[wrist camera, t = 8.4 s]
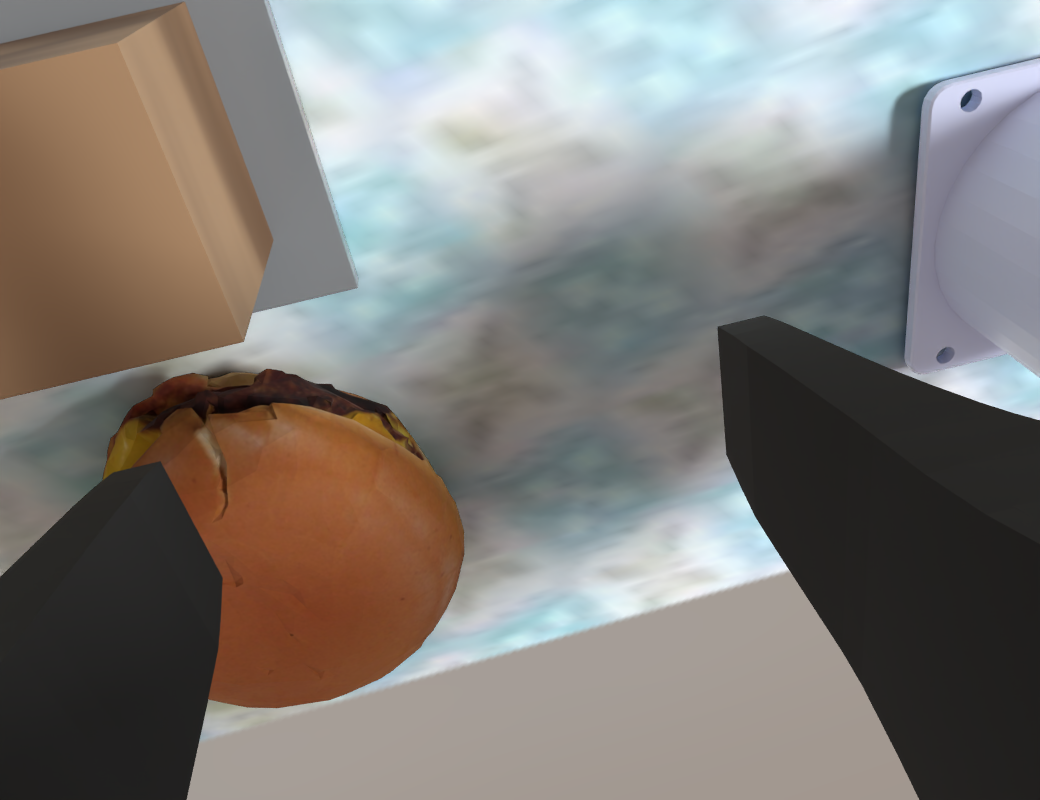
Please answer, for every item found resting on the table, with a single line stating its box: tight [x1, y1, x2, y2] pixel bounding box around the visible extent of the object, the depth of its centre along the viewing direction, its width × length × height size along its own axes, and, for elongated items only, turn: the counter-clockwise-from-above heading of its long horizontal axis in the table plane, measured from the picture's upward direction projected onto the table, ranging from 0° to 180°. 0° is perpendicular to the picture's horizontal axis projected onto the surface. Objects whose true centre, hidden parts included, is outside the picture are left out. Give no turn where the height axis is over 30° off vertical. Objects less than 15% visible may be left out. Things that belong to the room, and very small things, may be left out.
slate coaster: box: [0, 0, 358, 313], centre depth 18 cm, size 8×8×1 cm
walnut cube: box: [0, 2, 274, 400], centre depth 15 cm, size 5×5×5 cm
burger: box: [103, 369, 464, 708], centre depth 22 cm, size 10×9×5 cm
